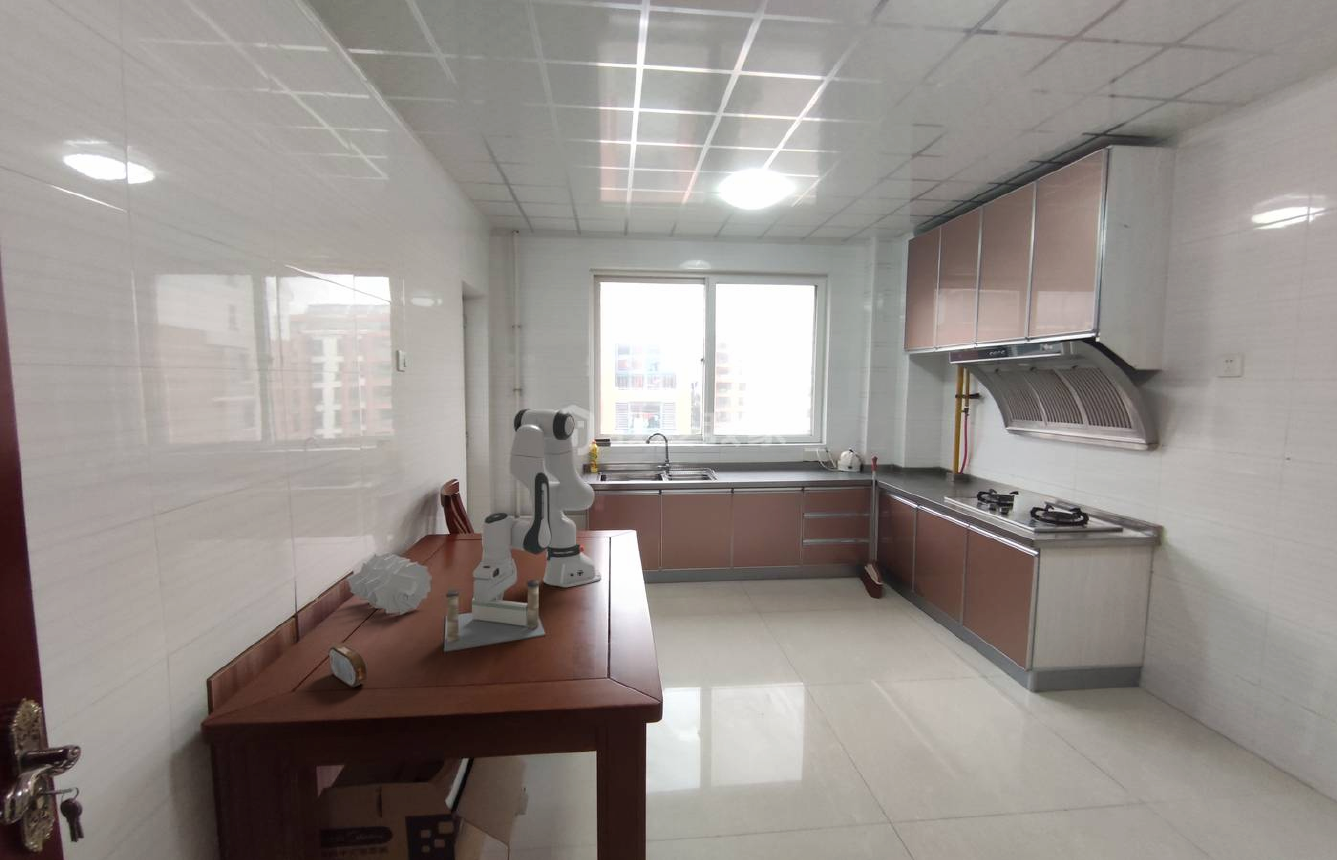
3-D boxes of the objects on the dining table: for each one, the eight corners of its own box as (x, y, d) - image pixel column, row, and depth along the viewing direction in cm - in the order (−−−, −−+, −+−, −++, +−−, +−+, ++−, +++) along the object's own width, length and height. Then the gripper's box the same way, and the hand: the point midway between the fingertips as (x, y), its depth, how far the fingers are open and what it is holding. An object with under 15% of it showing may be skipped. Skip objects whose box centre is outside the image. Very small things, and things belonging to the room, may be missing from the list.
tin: (368, 687, 126) (367, 654, 125) (354, 693, 123) (354, 659, 122) (340, 668, 134) (339, 637, 134) (326, 674, 131) (326, 642, 131)
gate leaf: (528, 623, 160) (528, 603, 160) (525, 626, 158) (525, 605, 158) (475, 616, 164) (475, 597, 164) (471, 619, 163) (471, 599, 162)
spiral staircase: (385, 606, 184) (425, 620, 170) (336, 599, 170) (375, 613, 157) (405, 555, 190) (445, 564, 176) (359, 545, 177) (398, 554, 163)
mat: (534, 605, 176) (534, 604, 176) (545, 635, 154) (545, 633, 154) (445, 617, 166) (445, 616, 166) (444, 651, 144) (444, 650, 143)
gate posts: (538, 625, 161) (538, 579, 160) (539, 630, 158) (539, 583, 157) (446, 639, 151) (446, 590, 150) (446, 644, 148) (445, 594, 147)
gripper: (504, 554, 175) (505, 594, 175) (469, 574, 155) (470, 618, 155) (521, 555, 173) (521, 595, 174) (488, 576, 153) (488, 621, 154)
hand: (497, 606), depth 165 cm, fingers closed
